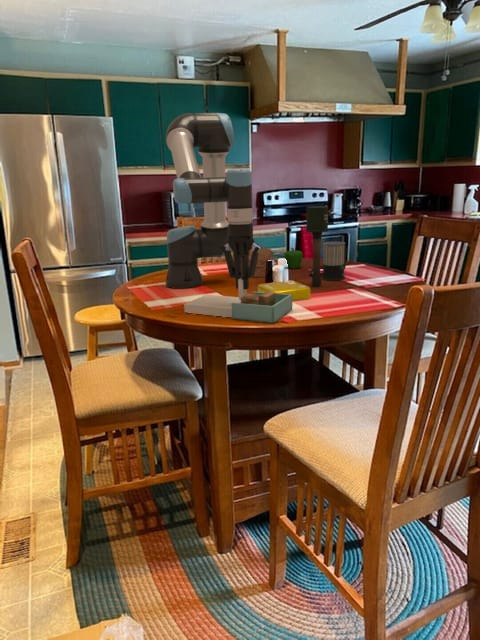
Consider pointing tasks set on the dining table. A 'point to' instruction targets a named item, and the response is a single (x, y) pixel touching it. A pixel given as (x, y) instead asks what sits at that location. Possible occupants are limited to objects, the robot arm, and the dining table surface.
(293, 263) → the bell pepper
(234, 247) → the robot arm
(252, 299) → the rear tile
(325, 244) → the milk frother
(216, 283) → the dining table surface
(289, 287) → the element tile
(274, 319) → the tray
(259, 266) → the bread
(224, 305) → the board
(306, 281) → the dining table surface
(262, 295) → the front tile
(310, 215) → the stick grenade
